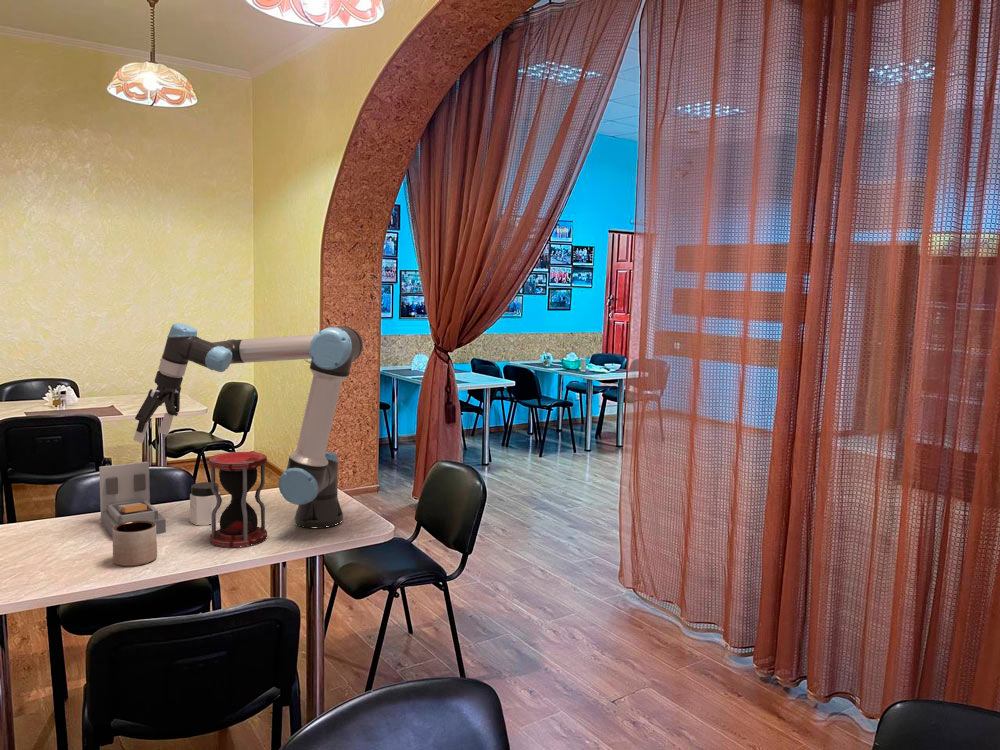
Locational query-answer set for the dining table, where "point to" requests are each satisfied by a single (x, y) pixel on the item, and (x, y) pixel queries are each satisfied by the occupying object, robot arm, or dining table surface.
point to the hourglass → (238, 499)
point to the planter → (134, 543)
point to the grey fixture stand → (126, 495)
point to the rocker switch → (132, 507)
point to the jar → (203, 503)
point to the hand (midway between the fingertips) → (150, 437)
